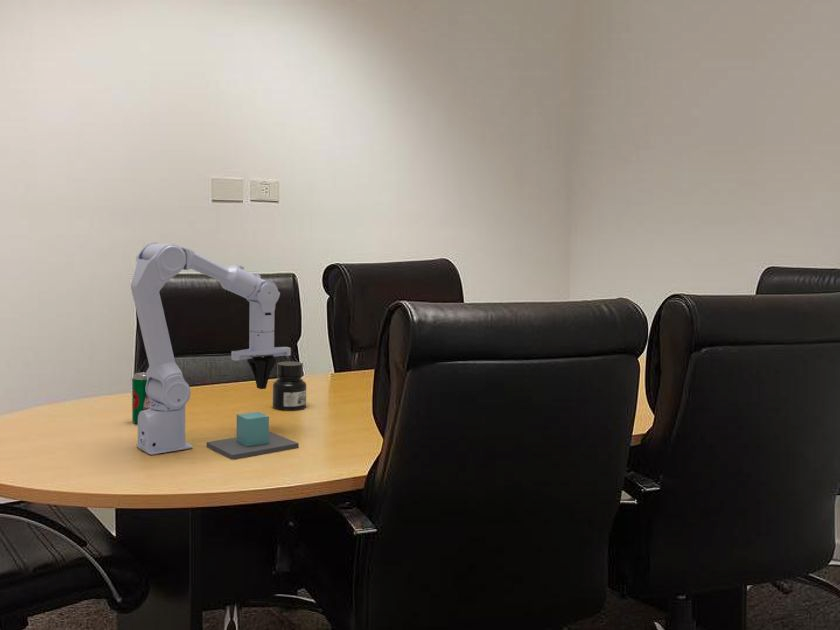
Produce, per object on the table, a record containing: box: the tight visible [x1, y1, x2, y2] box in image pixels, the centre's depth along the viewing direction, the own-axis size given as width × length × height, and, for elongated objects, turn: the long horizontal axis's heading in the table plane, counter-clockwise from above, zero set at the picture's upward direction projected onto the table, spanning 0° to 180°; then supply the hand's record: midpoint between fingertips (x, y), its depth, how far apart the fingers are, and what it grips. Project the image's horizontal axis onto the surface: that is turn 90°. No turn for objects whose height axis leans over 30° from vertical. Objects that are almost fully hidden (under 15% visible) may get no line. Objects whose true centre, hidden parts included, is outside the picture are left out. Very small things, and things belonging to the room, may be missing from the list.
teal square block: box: [236, 411, 270, 447], centre depth 171 cm, size 5×5×6 cm
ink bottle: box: [272, 361, 307, 411], centre depth 211 cm, size 10×9×12 cm
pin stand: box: [206, 431, 300, 460], centre depth 171 cm, size 16×12×6 cm
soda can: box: [131, 371, 151, 425], centre depth 190 cm, size 5×5×12 cm
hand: (261, 388), depth 184 cm, fingers closed
